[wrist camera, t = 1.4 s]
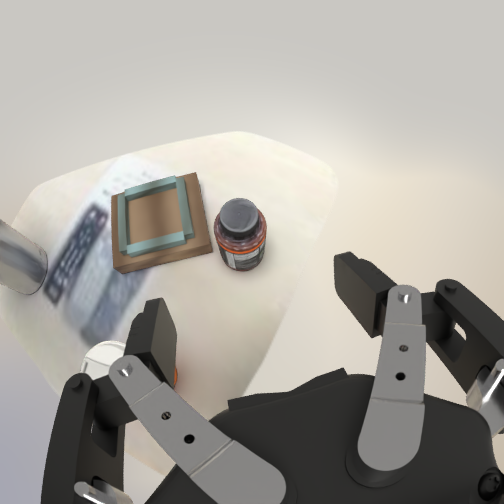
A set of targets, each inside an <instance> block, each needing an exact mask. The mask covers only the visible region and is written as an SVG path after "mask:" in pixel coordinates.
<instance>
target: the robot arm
mask: <svg viewBox="0 0 504 504" xmlns="http://www.w3.org/2000/svg"><path fill="white" fill-rule="evenodd" d="M46 270H47V257H46V254H45V251H44V250H43V249H42V248H41V247H39V246H38V245H36V244H35V243H33V242H32V241H30V240H29V239H28V238H26V237H25V236H23V235H22V234H20V233H19V232H17V231H16V230H15V229H13V228H12V227H10V226H9V225H8V224H6V223H5V222H3V221H2V220H1V219H0V284H1V285H4V286H6V287H9V288H11V289H13V290H16V291H18V292H21V293H23V294H26V295H29V294H32V293H34V292H36V291H37V290H38V289H39V287H40V286H41V284H42V282H43V280H44V278H45V275H46ZM334 279H335V289H336V292H337V294H338V296H339V297H340V299H341V300H342V301H343V302H344V304H345V305H346V306H347V307H348V309H349V310H350V311H351V313H352V314H353V315H354V316H355V318H356V319H357V320H358V322H359V323H360V324H361V325H362V327H363V328H364V329H365V330H366V332H367V333H368V335H369V336H370V337H371V338H374V337H376V336H379V335H381V336H382V337H383V338H382V344H381V349H380V355H379V360H378V365H377V370H376V375H375V376H372V375H365V374H351V375H347V373H346V371H345V369H344V368H340V369H338V370H335V371H332V372H329V373H326V374H323V375H320V376H317V377H315V378H314V379H312V380H310V381H308V382H306V383H305V384H303V385H301V386H299V387H297V388H295V389H294V390H292V391H289V392H280V393H262V394H254V395H249V396H245V397H240V398H235V399H231V400H228V406H229V409H227V410H224V411H222V412H221V413H219V414H217V415H216V416H214V417H213V418H212V419H211V420H209V421H207V420H206V419H205V418H204V417H203V416H201V415H200V414H199V413H198V412H197V411H196V410H194V409H193V408H192V407H191V406H190V405H189V404H188V403H187V402H185V401H184V400H183V399H182V398H181V397H180V396H179V395H178V394H177V393H176V392H175V391H174V379H175V358H176V342H177V333H176V328H175V325H174V322H173V320H172V318H171V315H170V313H169V311H168V308H167V306H166V303H165V301H164V299H163V298H157V299H153V300H148V301H146V304H145V307H144V311H143V313H139V314H138V315H137V316H136V317H135V319H134V320H133V321H132V325H131V328H130V329H131V330H130V332H129V337H128V339H127V342H126V346H125V350H124V354H123V357H120V358H118V359H117V360H116V361H114V362H113V363H112V365H111V366H110V368H109V372H108V375H105V376H103V377H100V378H98V379H95V380H92V378H91V377H90V376H89V375H88V374H86V373H78V374H75V375H73V376H72V377H71V378H69V379H68V381H67V382H66V384H65V386H64V389H63V392H62V395H61V399H60V403H59V406H58V410H57V413H56V417H55V421H54V425H53V429H52V434H51V439H50V443H49V448H48V453H47V458H46V464H45V470H44V478H43V485H42V494H41V504H133V502H132V500H131V498H130V497H129V496H128V495H127V494H125V493H124V490H123V465H124V464H123V462H124V437H125V424H126V423H129V422H132V421H134V420H137V419H139V421H140V422H141V423H142V424H143V426H144V427H145V428H146V429H147V431H148V432H149V433H150V434H151V436H152V437H153V438H154V439H155V440H156V441H157V443H158V444H159V445H160V446H161V447H162V448H163V449H164V451H165V452H166V453H167V454H168V455H169V456H170V457H171V458H172V459H173V460H174V461H175V462H176V464H175V466H174V467H173V468H172V470H171V471H170V472H169V474H168V475H167V476H166V477H165V479H164V480H163V481H162V483H161V484H160V485H159V486H158V488H157V489H156V490H155V491H154V493H153V494H152V495H151V496H150V498H149V499H148V500H147V501H146V502H145V504H504V474H503V473H502V472H501V471H500V470H499V468H498V466H497V464H496V460H495V457H494V453H493V446H492V438H493V437H494V436H496V435H497V434H503V433H504V321H503V320H502V319H501V318H500V317H499V316H498V315H497V314H496V313H494V312H493V311H492V310H491V309H490V308H489V307H488V306H487V305H485V303H483V302H482V301H481V300H480V299H479V298H478V297H476V296H475V295H474V294H473V293H472V292H471V291H469V290H468V289H467V288H466V287H465V286H463V285H462V284H461V283H459V282H458V281H455V280H452V279H444V280H440V281H439V282H438V283H437V284H436V288H435V292H429V293H420V292H419V291H418V290H417V289H416V288H414V287H412V286H408V285H397V284H396V283H395V282H393V280H391V279H390V278H389V277H388V276H387V275H385V274H384V273H382V271H381V270H380V269H378V268H377V267H376V266H375V265H374V264H373V263H371V262H369V261H367V260H364V259H358V258H357V257H356V256H355V255H354V254H353V253H351V252H346V253H342V254H338V255H335V256H334ZM456 323H458V325H459V326H460V327H461V328H462V329H463V330H464V331H465V334H466V340H464V338H463V337H462V336H461V335H460V334H459V333H458V332H457V331H456V330H455V329H454V328H455V325H456ZM426 342H427V343H428V344H429V346H430V347H431V348H432V349H433V351H434V352H435V353H436V354H437V356H438V357H439V358H440V360H441V361H442V362H443V363H444V365H445V366H446V367H447V368H448V370H449V371H450V372H451V374H452V375H453V376H454V378H455V379H456V381H457V382H458V383H459V385H460V386H461V387H462V389H463V390H464V391H465V393H466V394H467V396H466V402H467V405H468V407H467V406H463V405H459V404H456V403H453V402H450V401H447V400H443V399H440V398H437V397H434V396H430V395H428V394H425V393H424V382H425V361H426ZM92 423H93V426H92ZM91 429H92V433H91Z"/></svg>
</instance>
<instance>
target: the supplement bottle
mask: <svg viewBox="0 0 504 504" xmlns="http://www.w3.org/2000/svg"><path fill="white" fill-rule="evenodd" d="M266 229H267V226H266V221H265V218H264V216H263V214H262V213H261V212H260V210H258V209H257V208H256V206H255V205H254V204H253V203H252V202H251V201H249V200H247V199H243V198H236V199H232V200H230V201H228V202H226V203H225V204H224V205H223V207H222V208H221V211H220V213H219V214H218V215H217V217H216V219H215V222H214V233H215V237H216V240H217V243H218V246H219V250H220V253H221V256H222V258H223V260H224V262H225V263H226V264H227V265H228V266H229V267H230V268H232V269H234V270H237V271H247V270H250V269H252V268H254V267H256V266H257V265H258V264H259V263H260V261H261V259H262V257H263V254H264V247H265V239H266Z"/></svg>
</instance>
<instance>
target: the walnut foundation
mask: <svg viewBox="0 0 504 504" xmlns="http://www.w3.org/2000/svg"><path fill="white" fill-rule="evenodd" d="M111 226H112V253H113V268H114V269H116V270H117V271H119V272H120V273H122V274H124V273H128V272H132V271H136V270H140V269H144V268H148V267H152V266H157V265H161V264H165V263H169V262H173V261H177V260H181V259H186V258H190V257H194V256H198V255H202V254H207V253H211V252H213V250H212V246H211V241H210V236H209V231H208V226H207V221H206V216H205V211H204V206H203V201H202V196H201V191H200V186H199V181H198V178H197V174H196V172H195V173H191V174H187V175H183V176H179V177H175V176H171V177H167V178H163V179H160V180H156V181H153V182H149V183H146V184H142V185H139V186H135V187H132V188H129V189H126V190H125V192H123V193H120V194H116V195H113V196H112V197H111Z"/></svg>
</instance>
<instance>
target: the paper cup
mask: <svg viewBox="0 0 504 504" xmlns="http://www.w3.org/2000/svg"><path fill="white" fill-rule="evenodd" d="M125 346H126V344H124V343H122V342H118V341H104V342H101V343H99V344H97V345H95V346H94V347H93V348H92V349H91V350H89V351H88V352H87V353H86V355H85V356H86V357H85V359H84V360H83V362H82V366H81V369H80V371H81V373H86V374H88V375H89V376H90V377H91V378H92V380H95V379H98V378H100V377H103V376H105V375H108V372H109V368H110V366H111V365H112V363H113V362H114V361H116V360H117V359H118V358H120V357H123V354H124V350H125ZM176 380H177V371H176V367H175V379H174V385H175V383H176Z"/></svg>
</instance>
